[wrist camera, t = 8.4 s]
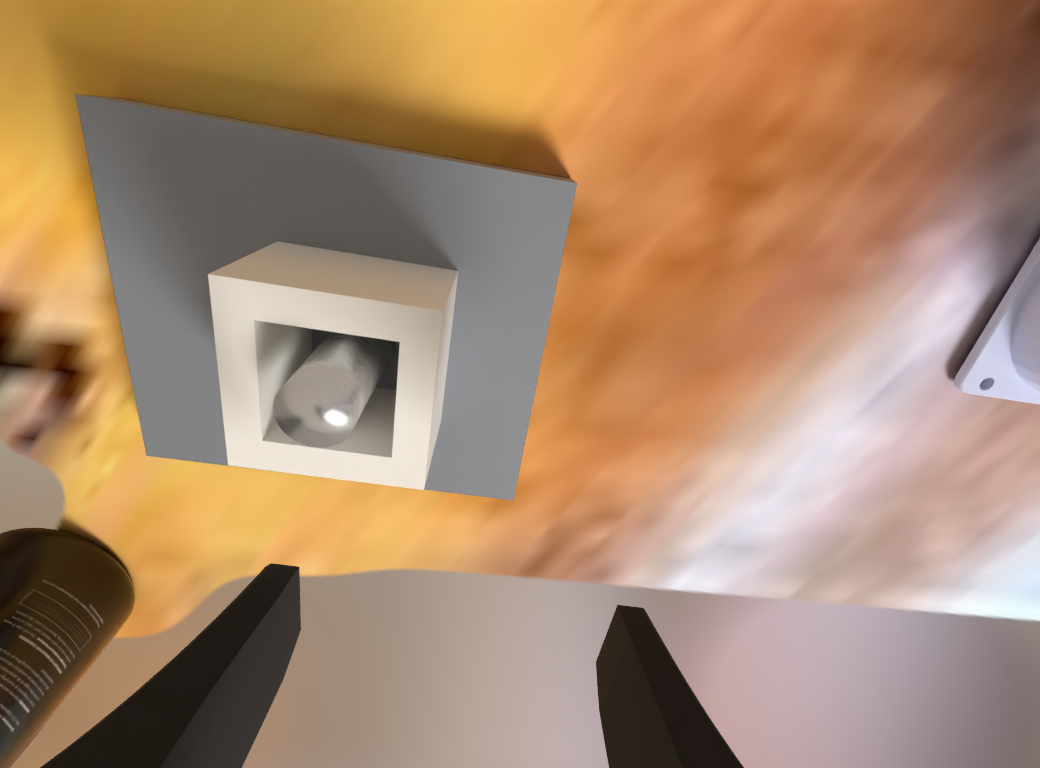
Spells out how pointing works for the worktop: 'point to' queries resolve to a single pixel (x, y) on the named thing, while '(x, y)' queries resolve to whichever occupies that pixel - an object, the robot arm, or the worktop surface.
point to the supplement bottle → (51, 624)
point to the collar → (288, 343)
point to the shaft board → (334, 226)
